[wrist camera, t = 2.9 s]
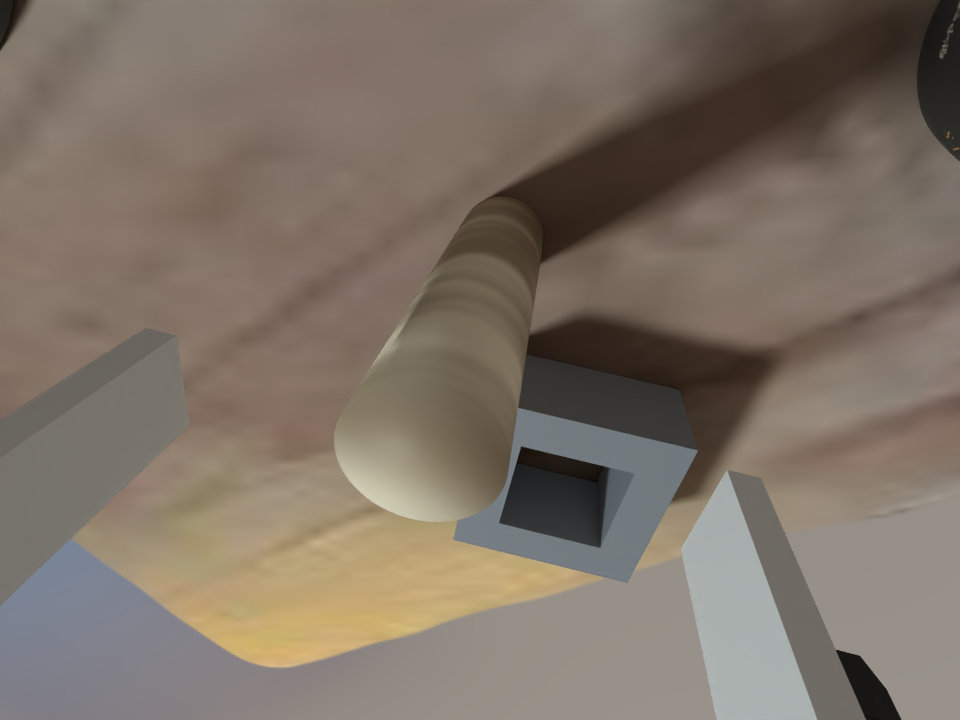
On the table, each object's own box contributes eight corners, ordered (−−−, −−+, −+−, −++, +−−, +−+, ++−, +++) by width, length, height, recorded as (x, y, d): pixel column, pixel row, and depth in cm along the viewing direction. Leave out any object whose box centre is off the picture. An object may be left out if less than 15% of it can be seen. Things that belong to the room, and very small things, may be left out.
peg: (468, 188, 24) (337, 364, 11) (552, 206, 24) (526, 409, 11) (455, 267, 26) (332, 499, 13) (532, 285, 26) (490, 538, 13)
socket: (498, 347, 28) (485, 400, 24) (679, 389, 28) (698, 450, 24) (468, 477, 34) (453, 539, 29) (620, 514, 33) (627, 582, 29)
